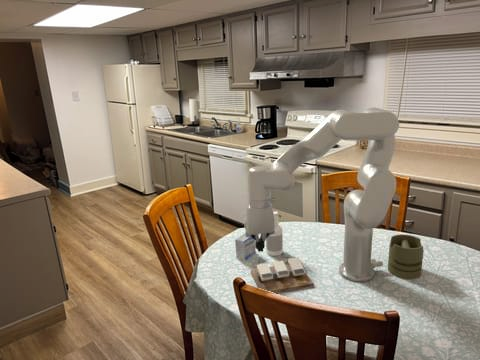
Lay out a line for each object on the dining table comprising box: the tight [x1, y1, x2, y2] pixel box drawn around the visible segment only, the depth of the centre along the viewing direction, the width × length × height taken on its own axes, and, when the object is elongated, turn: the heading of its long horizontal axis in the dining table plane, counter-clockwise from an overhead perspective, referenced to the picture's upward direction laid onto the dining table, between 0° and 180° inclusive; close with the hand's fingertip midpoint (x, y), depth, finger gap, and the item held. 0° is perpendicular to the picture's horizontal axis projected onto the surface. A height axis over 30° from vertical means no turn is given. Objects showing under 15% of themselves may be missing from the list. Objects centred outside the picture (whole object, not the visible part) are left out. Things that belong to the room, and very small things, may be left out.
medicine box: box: [234, 233, 257, 262], centre depth 151 cm, size 8×4×9 cm, turn 143°
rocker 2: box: [287, 256, 306, 276], centre depth 134 cm, size 4×7×1 cm, turn 13°
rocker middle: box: [271, 260, 289, 278], centre depth 133 cm, size 4×7×1 cm, turn 13°
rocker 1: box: [256, 262, 273, 281], centre depth 132 cm, size 4×7×1 cm, turn 13°
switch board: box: [250, 263, 315, 294], centre depth 133 cm, size 19×15×3 cm
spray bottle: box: [265, 210, 284, 257], centre depth 151 cm, size 7×7×18 cm
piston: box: [387, 234, 425, 280], centre depth 133 cm, size 11×12×11 cm
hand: (260, 249), depth 132 cm, fingers closed
